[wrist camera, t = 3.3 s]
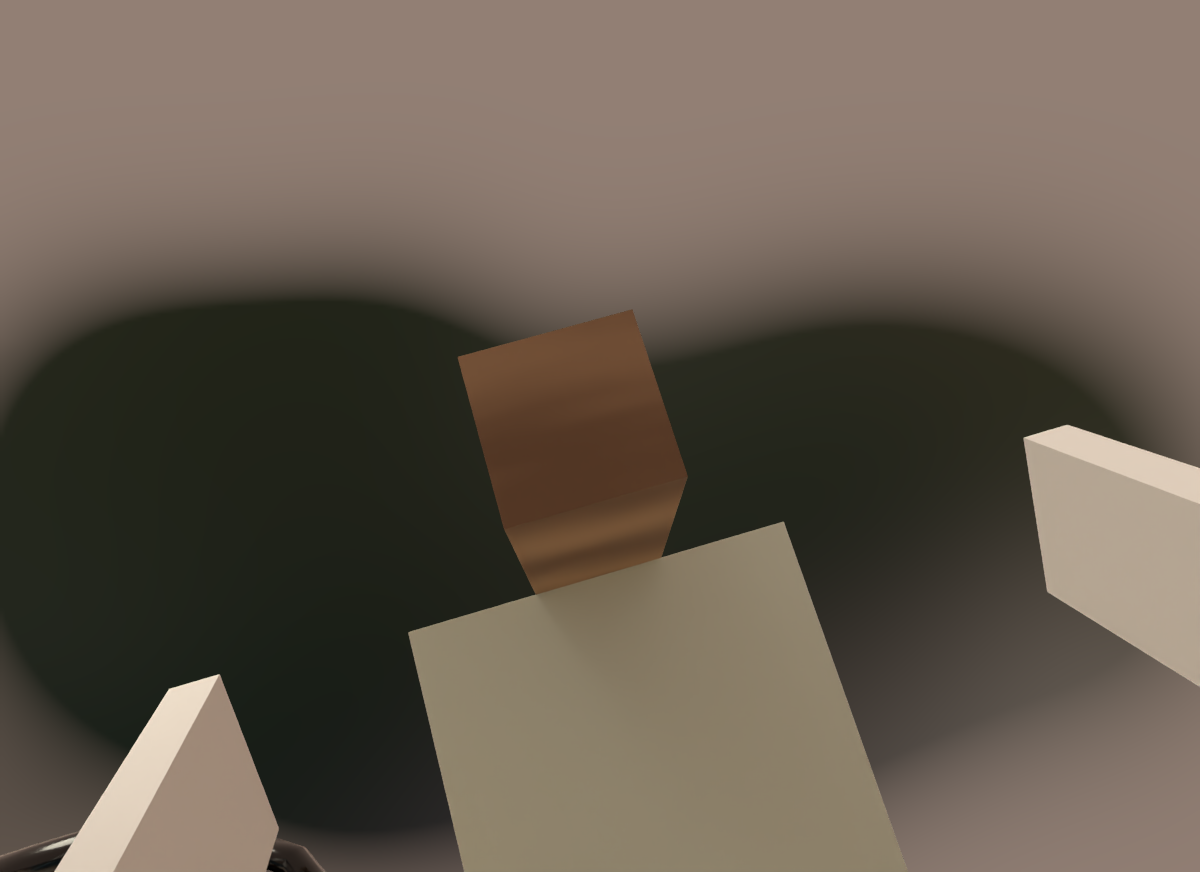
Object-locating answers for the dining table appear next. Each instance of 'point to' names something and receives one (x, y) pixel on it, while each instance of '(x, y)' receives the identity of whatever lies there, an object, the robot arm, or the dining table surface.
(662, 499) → the beam
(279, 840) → the amphora vase
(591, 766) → the beige tall block
